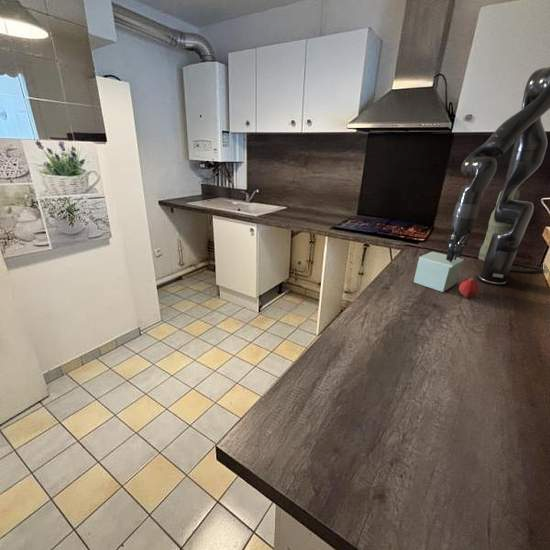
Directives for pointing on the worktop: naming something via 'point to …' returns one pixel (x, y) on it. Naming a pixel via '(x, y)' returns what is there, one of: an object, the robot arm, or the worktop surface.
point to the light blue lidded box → (436, 275)
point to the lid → (442, 259)
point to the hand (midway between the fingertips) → (453, 258)
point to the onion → (468, 288)
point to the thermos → (494, 229)
